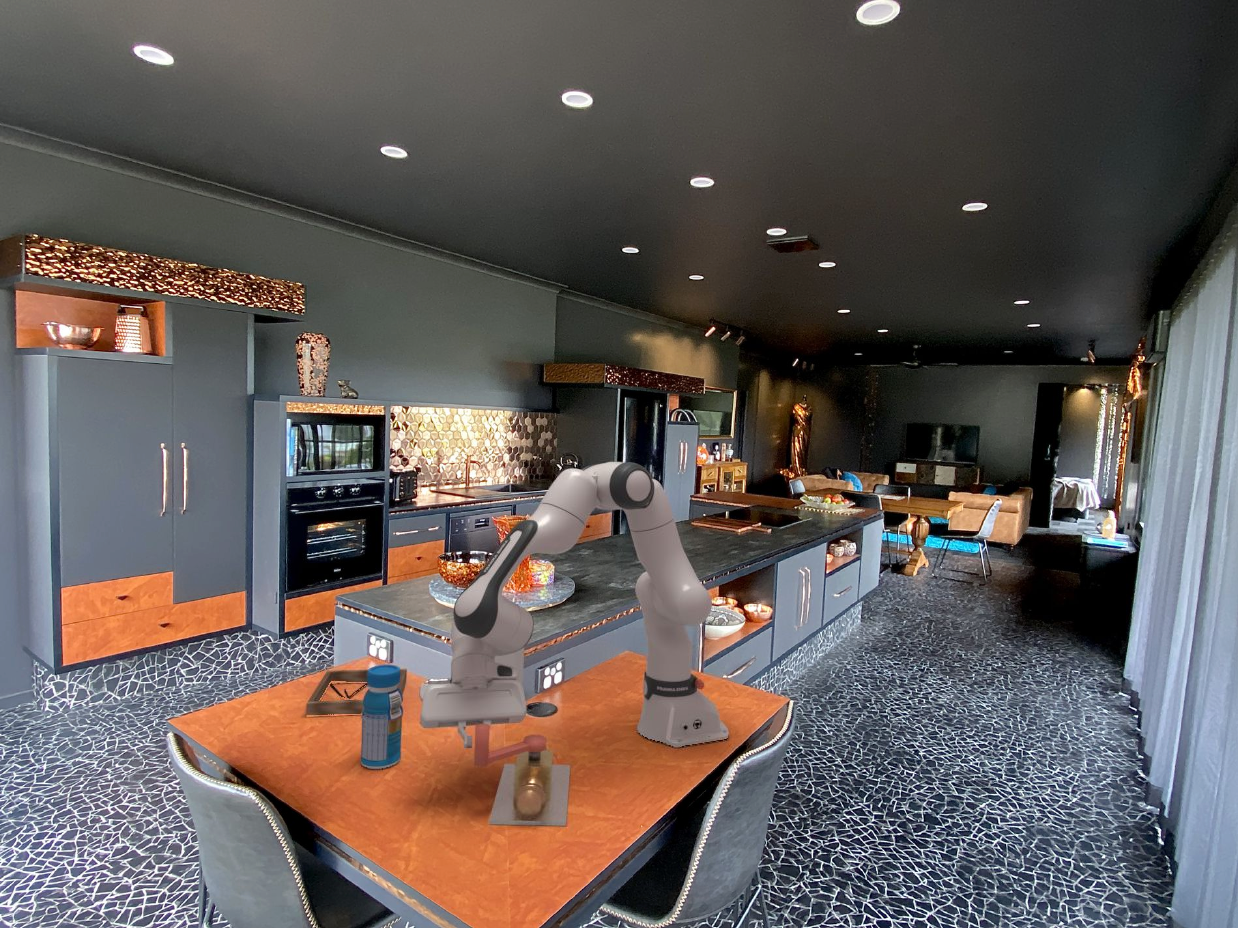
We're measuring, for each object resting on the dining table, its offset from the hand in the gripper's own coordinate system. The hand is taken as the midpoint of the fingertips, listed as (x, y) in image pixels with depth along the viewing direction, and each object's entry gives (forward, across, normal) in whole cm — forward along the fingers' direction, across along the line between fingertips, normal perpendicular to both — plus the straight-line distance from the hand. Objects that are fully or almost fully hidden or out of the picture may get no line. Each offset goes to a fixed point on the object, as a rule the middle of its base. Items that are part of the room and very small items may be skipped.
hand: (474, 746), depth 128 cm
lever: (+1, +7, +2) cm, 7 cm away
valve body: (+6, +12, +10) cm, 17 cm away
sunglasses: (-35, -24, +54) cm, 68 cm away
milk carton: (-29, +13, +46) cm, 56 cm away
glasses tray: (-35, -24, +53) cm, 68 cm away
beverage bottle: (-8, -17, +25) cm, 32 cm away
